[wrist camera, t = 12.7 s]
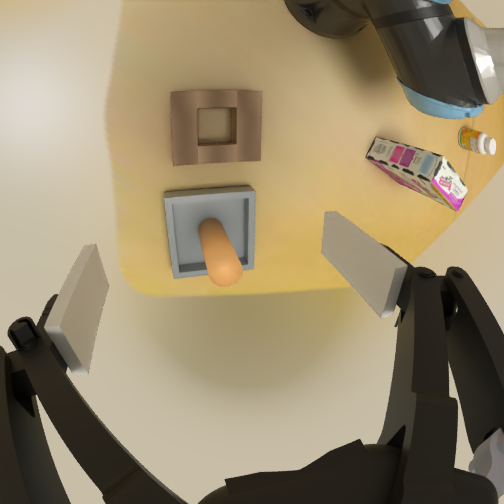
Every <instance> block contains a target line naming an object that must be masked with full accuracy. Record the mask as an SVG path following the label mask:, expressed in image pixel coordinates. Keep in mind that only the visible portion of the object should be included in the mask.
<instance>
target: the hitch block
mask: <svg viewBox="0 0 504 504" xmlns="http://www.w3.org/2000/svg"><path fill="white" fill-rule="evenodd" d="M209 108H231V142H219V143H200V144H198V124H197V109H209ZM261 123H262V91H251V90H200V91H180V92H171V132H172V158H173V166H179V165H191V164H204V163H221V162H243V161H261Z"/></svg>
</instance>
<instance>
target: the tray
mask: <svg viewBox="0 0 504 504" xmlns="http://www.w3.org/2000/svg"><path fill="white" fill-rule="evenodd" d="M255 197H256V191H255V190H254V189H253V188H252V187H251V186H249V185H247V186H230V187H216V188H203V189H191V190H181V191H171V192H165V195H164V201H165V212H166V222H167V231H168V239H169V247H170V255H171V263H172V270H173V277H174V279H178V278H187V277H195V276H204V275H209V274H208V270H207V266H206V263H205V259H204V255H203V251H202V247H201V243H200V239H199V235H198V227H199V225H200V223H201V222H202V221H203V220H205V219H207V218H215V219H218V220H219V221H220V222H221V223H222V225H223V227H224V229H225V231H226V233H227V236H228V238H229V240H230V242H231V244H232V246H233V248H234V250H235V252H236V254H237V256H238V258H239V260H240V262H241V265H242V268H243V270H251V269H254V246H255Z"/></svg>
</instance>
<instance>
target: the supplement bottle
mask: <svg viewBox="0 0 504 504" xmlns="http://www.w3.org/2000/svg"><path fill="white" fill-rule="evenodd" d="M458 141H459V144H460V146H461V147H462V148H464V149H468V150H471V151H474V152H477V153H480V154H486V153H488V154H491V155H493V154H494V153H495V150H496V142H495V140H494V139H493V138H490V137H488V136H487V134H485V133H483V132H479V131H475V130H471V129H468V128H462V129H461V130H460V131H459V135H458Z"/></svg>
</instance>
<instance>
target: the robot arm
mask: <svg viewBox="0 0 504 504" xmlns="http://www.w3.org/2000/svg"><path fill="white" fill-rule="evenodd" d="M451 1H452V0H285V2H286V5H287V7H288V9H289V10H290V12H291V13H292V15H293V16H294V17H295V18H296V19H297V20H298V21H299V22H300V23H301V24H302V25H303V26H305V27H306V28H307V29H309V30H311V31H312V32H314V33H316V34H319V35H321V36H325V37H329V38H344V37H348V36H351V35H354V34H356V33H358V32H360V31H361V30H362V29H363V28H364V27H365V26H366V24H367V23H369V22H370V21H372V23H373V25H374V27H375V29H376V31H377V33H378V35H379V37H380V39H381V41H382V43H383V45H384V47H385V49H386V51H387V53H388V56H389V58H390V60H391V62H392V65H393V67H394V69H395V72H396V74H397V79H398V82H399V83H400V84H401V86H402V88H403V90H404V92H405V95H406V97H407V99H408V101H409V103H410V104H411V105H412V106H414V107H415V108H416V109H417V110H419V111H421V112H422V113H425V114H428V115H431V116H434V117H439V118H446V119H463V118H464V117H468V118H472V117H475V116H477V115H479V114H480V113H481V112H482V111H483V107H484V104H494V102H495V101H496V100H497V98H498V97H499V96H500V95H501V94H504V28H484V27H481V26H479V25H478V24H477V23H475V22H474V21H472V20H471V19H470V18H468V17H463V18H455V17H454V15H453V13H452V11H451V8H450V6H449V4H448V3H450V2H451ZM321 253H322V254H323V255H324V256H325V257H326V259H327V260H328V261H329V262H330V263H331V264H332V265H333V266H334V267H335V268H336V269H337V270H338V271H339V272H340V274H341V275H342V276H343V277H344V278H345V279H346V280H347V281H348V282H349V283H350V284H351V286H352V287H353V288H354V289H355V290H356V291H357V292H358V293H359V294H360V296H361V297H362V298H363V299H364V300H365V301H366V302H367V303H368V304H369V306H370V307H371V308H372V309H373V310H374V311H375V312H376V314H377V315H378V316H379V317H380V318H384V317H387V316H390V315H393V313H394V310H395V306H396V304H397V305H398V306H399V307H400V308H401V310H400V313H399V316H398V318H397V321H396V324H395V327H397V325H398V333H397V343H396V353H395V361H394V370H393V377H392V383H391V390H390V396H389V402H388V407H387V412H386V417H385V422H384V426H383V430H382V433H381V436H380V438H379V440H378V442H377V444H366V445H363V443H362V442H361V440H360V439H358V440H356V441H353V442H351V443H349V444H346V445H344V446H341V447H339V448H336V449H334V450H331V451H329V452H328V453H326V454H325V455H323V456H322V457H320V458H319V459H317V460H315V461H314V462H312V463H311V464H309V465H307V466H306V467H304V468H302V469H300V470H294V471H279V472H258V473H254V474H249V475H244V476H239V477H234V478H228V479H225V482H226V485H225V486H223V487H220V488H218V489H217V490H215V491H213V492H211V493H210V494H208V495H207V496H205V497H204V498H203V499H202V500H201V501H200V502H199V503H198V504H498V499H499V498H500V497H501V496H502V495H503V494H504V334H503V332H502V330H501V328H500V326H499V324H498V322H497V321H496V319H495V317H494V315H493V313H492V312H491V310H490V308H489V307H488V305H487V303H486V302H485V300H484V298H483V297H482V295H481V293H480V292H479V290H478V289H477V287H476V286H475V284H474V282H473V281H472V279H471V278H470V276H469V275H468V274H467V273H466V272H465V271H464V270H463V269H462V268H459V267H449V268H448V269H447V272H446V275H445V276H437V275H436V273H434V271H432V270H430V269H428V268H425V267H416V268H415V267H413V266H412V265H411V264H410V263H408V262H407V261H406V260H405V259H403V258H402V257H400V255H398V254H397V253H395V251H393V250H392V249H391V248H389V247H388V246H385V245H383V244H381V243H379V242H377V241H376V240H375V239H373V238H372V237H371V236H369V235H368V234H367V233H365V232H364V231H363V230H361V229H360V228H359V227H357V226H356V225H355V224H353V223H352V222H351V221H349V220H348V219H346V218H345V217H344V216H342V215H341V214H339V213H338V212H337V211H329V212H325V213H324V226H323V238H322V249H321ZM108 288H109V284H108V281H107V278H106V275H105V271H104V268H103V265H102V262H101V259H100V256H99V252H98V249H97V245H96V244H91V245H86V246H84V247H83V249H82V250H81V252H80V254H79V256H78V258H77V259H76V261H75V263H74V265H73V267H72V269H71V271H70V273H69V274H68V276H67V278H66V280H65V282H64V285H63V286H62V288H61V290H60V292H59V294H55V295H53V296H52V297H51V299H50V300H49V301H48V302H47V304H46V306H45V308H44V309H45V310H44V311H43V313H42V316H41V317H40V319H39V322H38V323H37V326H36V325H35V324H34V322H33V320H32V319H31V318H30V317H21V318H19V319H17V320H16V321H15V322H13V323H12V325H11V326H10V327H9V329H8V337H9V339H10V340H11V342H12V343H13V345H14V346H15V348H16V349H17V350H15V351H12V352H10V353H6V352H5V350H4V348H3V347H1V346H0V504H71V503H70V501H69V499H68V496H67V494H66V492H65V490H64V487H63V485H62V482H61V480H60V478H59V475H58V472H57V470H56V467H55V464H54V461H53V459H52V456H51V453H50V450H49V446H48V443H47V440H46V436H45V433H44V429H43V426H42V422H41V418H40V414H39V409H38V405H37V401H36V395H37V396H38V398H39V400H40V402H41V403H42V405H43V407H44V409H45V411H46V413H47V414H48V416H49V418H50V420H51V422H52V423H53V425H54V427H55V428H56V430H57V431H58V433H59V435H60V436H61V438H62V440H63V441H64V443H65V444H66V446H67V447H68V448H69V450H70V451H71V453H72V454H73V456H74V457H75V459H76V460H77V462H78V463H79V464H80V466H81V467H82V468H83V470H84V471H85V472H86V474H87V475H88V476H89V477H90V479H91V480H92V481H93V482H94V483H95V485H96V486H97V487H98V488H99V490H100V491H101V492H102V494H103V497H102V498H103V500H104V502H105V503H106V504H188V503H187V502H185V501H184V500H183V499H181V498H180V497H179V496H178V495H176V494H175V493H174V492H172V491H171V490H170V489H169V488H167V487H166V486H165V485H164V484H163V483H162V482H160V481H159V480H158V479H157V478H156V477H155V476H154V475H153V474H151V473H150V472H149V471H148V470H147V469H146V468H145V467H144V466H143V465H141V463H139V461H138V460H137V459H135V458H134V456H133V455H132V454H130V453H129V451H128V450H127V449H126V448H125V447H124V446H123V445H122V444H121V443H120V442H119V441H118V440H117V438H116V437H115V436H114V435H113V434H112V433H111V432H110V431H109V429H108V428H107V427H106V426H105V425H104V424H103V423H102V421H101V420H100V419H99V418H98V416H97V415H96V414H95V413H94V411H93V410H92V409H91V408H90V406H89V405H88V404H87V402H86V401H85V400H84V398H83V397H82V396H81V395H80V393H79V392H78V390H77V389H76V387H75V386H74V385H73V383H72V382H71V380H70V379H69V377H68V376H67V374H66V371H67V367H69V369H70V370H71V372H72V373H73V375H86V374H87V375H88V374H89V369H90V363H91V358H92V353H93V348H94V343H95V339H96V335H97V330H98V326H99V322H100V318H101V313H102V310H103V306H104V302H105V298H106V295H107V291H108ZM457 307H458V310H457V312H456V309H457ZM448 361H449V364H450V368H451V371H452V374H453V378H454V381H455V385H456V388H457V392H458V396H459V400H460V404H461V408H462V413H463V417H464V422H465V427H466V432H467V436H468V440H469V443H470V446H471V449H472V452H473V454H474V459H473V460H472V461H471V462H470V464H469V471H470V472H468V471H464V470H460V469H457V468H454V463H455V454H456V442H457V426H458V403H457V400H456V398H451V397H450V396H449V367H448Z"/></svg>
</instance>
